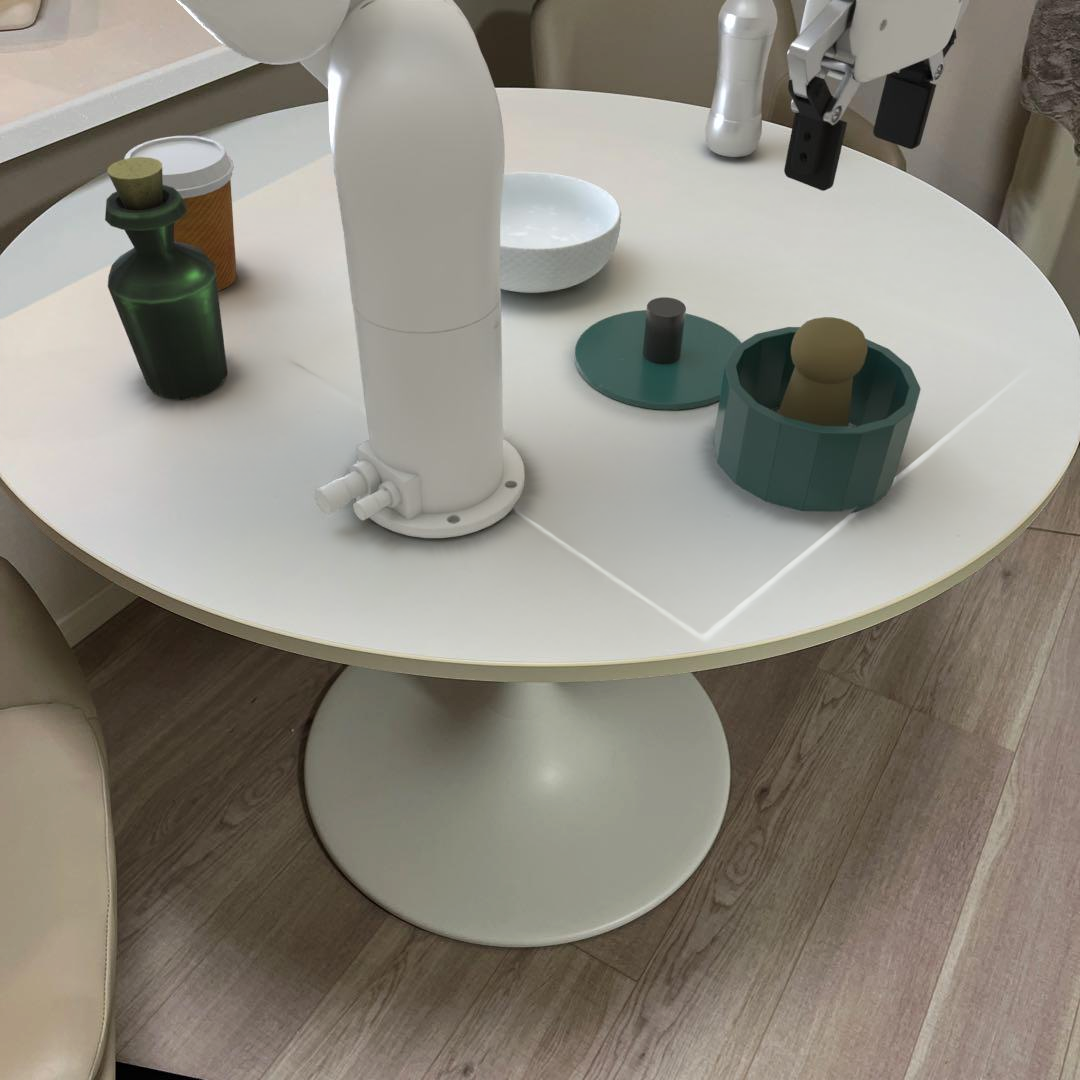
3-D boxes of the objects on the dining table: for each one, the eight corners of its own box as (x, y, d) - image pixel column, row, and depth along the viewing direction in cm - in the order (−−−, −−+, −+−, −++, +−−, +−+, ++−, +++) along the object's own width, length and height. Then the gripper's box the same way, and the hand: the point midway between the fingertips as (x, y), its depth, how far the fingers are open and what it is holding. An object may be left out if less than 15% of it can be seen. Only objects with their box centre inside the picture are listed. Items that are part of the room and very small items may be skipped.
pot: (827, 543, 74) (850, 458, 69) (677, 457, 81) (688, 374, 76) (927, 460, 81) (955, 377, 76) (781, 387, 88) (797, 308, 83)
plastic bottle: (719, 167, 121) (744, -25, 108) (692, 145, 126) (713, -41, 112) (768, 159, 123) (799, -30, 109) (740, 138, 127) (765, -46, 114)
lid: (671, 439, 82) (678, 377, 79) (538, 364, 90) (539, 305, 86) (781, 367, 90) (793, 308, 86) (651, 304, 98) (656, 247, 94)
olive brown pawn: (845, 483, 78) (880, 356, 70) (763, 472, 79) (788, 345, 71) (844, 435, 82) (877, 310, 75) (766, 425, 83) (790, 301, 76)
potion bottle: (249, 392, 86) (205, 179, 74) (148, 417, 84) (85, 200, 72) (224, 344, 92) (179, 138, 80) (128, 366, 89) (67, 156, 77)
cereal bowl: (653, 284, 101) (659, 213, 96) (515, 340, 93) (515, 267, 88) (541, 220, 110) (542, 154, 106) (408, 267, 103) (403, 197, 98)
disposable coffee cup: (268, 287, 99) (246, 162, 91) (168, 313, 95) (136, 185, 87) (234, 247, 105) (210, 126, 97) (138, 270, 101) (105, 146, 93)
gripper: (949, -188, 61) (877, 112, 72) (769, -159, 52) (719, 179, 63) (1074, -169, 57) (976, 145, 69) (903, -134, 48) (823, 222, 59)
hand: (852, 161), depth 66 cm, fingers open, 9 cm apart
